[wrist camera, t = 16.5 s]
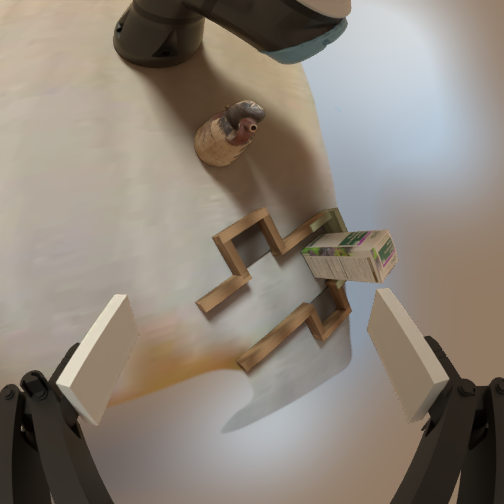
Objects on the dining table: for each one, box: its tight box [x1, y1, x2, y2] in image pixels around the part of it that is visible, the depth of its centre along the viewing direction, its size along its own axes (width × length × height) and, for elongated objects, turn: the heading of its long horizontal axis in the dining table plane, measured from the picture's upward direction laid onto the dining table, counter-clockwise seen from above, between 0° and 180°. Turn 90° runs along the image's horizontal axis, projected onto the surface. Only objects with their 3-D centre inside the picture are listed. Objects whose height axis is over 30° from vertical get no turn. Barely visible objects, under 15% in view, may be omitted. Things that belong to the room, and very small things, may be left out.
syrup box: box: [301, 229, 398, 283], centre depth 41 cm, size 6×6×14 cm
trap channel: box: [195, 207, 352, 371], centre depth 42 cm, size 27×25×4 cm
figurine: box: [194, 100, 265, 167], centre depth 33 cm, size 7×7×12 cm
